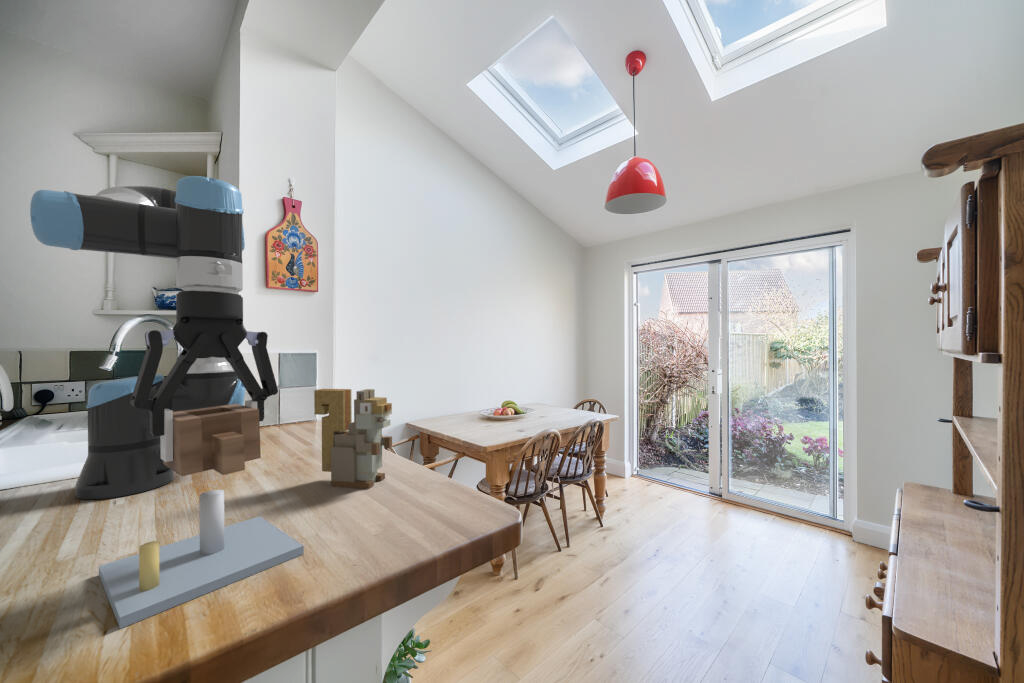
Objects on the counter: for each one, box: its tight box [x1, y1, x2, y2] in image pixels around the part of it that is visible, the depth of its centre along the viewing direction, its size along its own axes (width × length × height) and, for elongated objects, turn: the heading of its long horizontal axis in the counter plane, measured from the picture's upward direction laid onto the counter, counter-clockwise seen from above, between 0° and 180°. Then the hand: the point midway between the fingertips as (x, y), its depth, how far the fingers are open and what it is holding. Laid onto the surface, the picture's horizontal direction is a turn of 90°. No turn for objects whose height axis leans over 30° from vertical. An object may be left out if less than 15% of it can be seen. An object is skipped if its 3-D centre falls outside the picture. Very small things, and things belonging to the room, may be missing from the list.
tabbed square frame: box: [163, 404, 262, 477], centre depth 55 cm, size 13×9×7 cm
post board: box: [98, 489, 305, 630], centre depth 55 cm, size 16×19×9 cm
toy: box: [313, 388, 393, 490], centre depth 87 cm, size 6×17×20 cm, turn 78°
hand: (211, 451), depth 56 cm, fingers closed on tabbed square frame, 9 cm apart
